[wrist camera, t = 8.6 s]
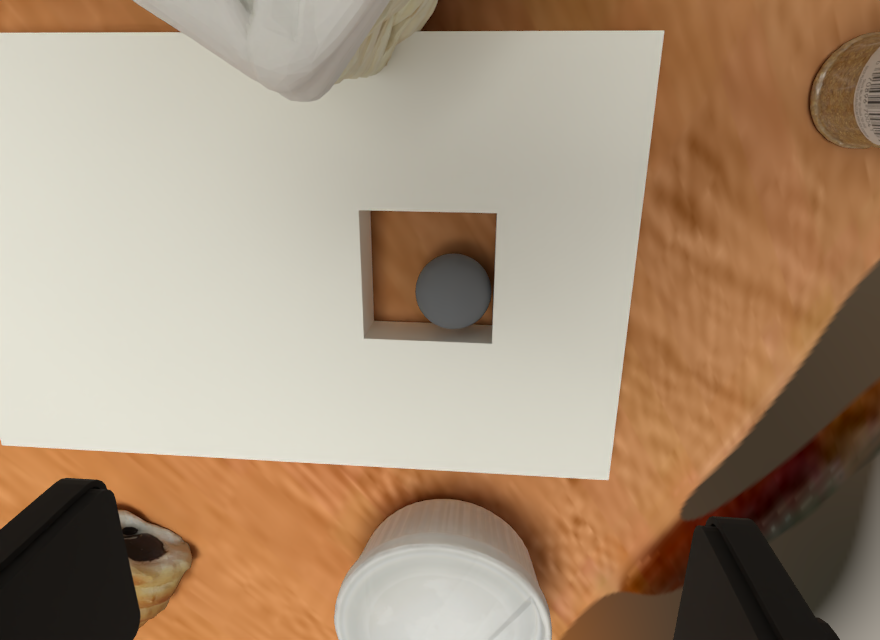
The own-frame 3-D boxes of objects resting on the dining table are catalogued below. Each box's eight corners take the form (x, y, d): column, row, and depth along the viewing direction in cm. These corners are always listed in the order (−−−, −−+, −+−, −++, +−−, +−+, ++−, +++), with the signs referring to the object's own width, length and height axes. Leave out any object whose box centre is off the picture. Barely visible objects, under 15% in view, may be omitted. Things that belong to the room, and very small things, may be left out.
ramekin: (534, 640, 36) (541, 724, 31) (357, 622, 37) (336, 701, 32) (553, 488, 32) (564, 556, 27) (354, 472, 33) (330, 535, 28)
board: (36, 421, 34) (2, 445, 31) (-62, 40, 27) (-116, 33, 24) (599, 452, 31) (608, 480, 29) (647, 38, 24) (664, 30, 22)
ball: (441, 278, 24) (508, 260, 26) (400, 252, 27) (463, 237, 28) (442, 350, 26) (505, 330, 27) (403, 319, 28) (462, 302, 30)
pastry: (151, 634, 39) (115, 687, 35) (59, 586, 38) (13, 635, 35) (206, 542, 36) (173, 590, 32) (107, 488, 35) (62, 530, 32)
